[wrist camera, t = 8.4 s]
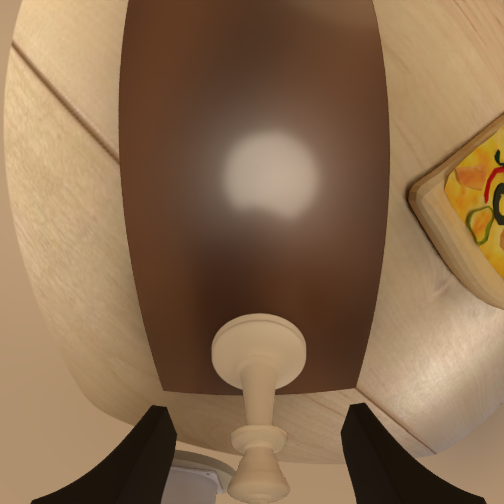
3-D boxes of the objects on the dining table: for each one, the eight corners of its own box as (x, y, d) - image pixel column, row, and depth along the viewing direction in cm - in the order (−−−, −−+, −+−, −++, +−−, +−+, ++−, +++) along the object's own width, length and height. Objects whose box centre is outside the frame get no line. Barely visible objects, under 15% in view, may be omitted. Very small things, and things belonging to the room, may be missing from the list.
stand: (173, 361, 18) (158, 404, 14) (175, -102, 5) (165, -127, 1) (344, 359, 18) (360, 401, 14) (315, -107, 5) (322, -132, 1)
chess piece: (250, 395, 15) (245, 552, 6) (192, 344, 14) (139, 524, 4) (322, 356, 14) (366, 530, 4) (269, 294, 13) (284, 520, 3)
